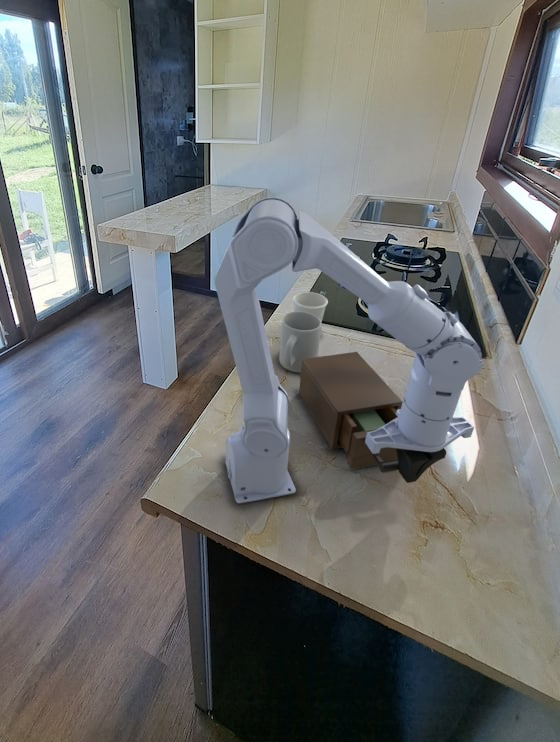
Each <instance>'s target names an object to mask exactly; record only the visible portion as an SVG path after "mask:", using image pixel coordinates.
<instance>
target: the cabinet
mask: <svg viewBox="0 0 560 742" xmlns="http://www.w3.org/2000/svg"><path fill="white" fill-rule="evenodd" d="M298 394H299V396H300V398H301V399H302V401H303V402H304V404H305V406H306V408H307V409H308V411H309V413H310V414H311V416H312V418H313V420H314V421H315V423H316V425H317V426H318V428H319V430H320V432H321V433H322V435H323V437H324V438H325V440H326V441H327V444H328V445H329V447H330V448H331V450H337V449H341V448H342V449H343V447H342V445H341V444H340V442H339V441H338V435H339V429H340V424H341V418H342V415H344V414H350V413H357V412H363V411H369V410H376V409H382V408H388V407H394V408H395V409H396V410H398V409H401V406H402V403H403V399H401V397H399V395H397V393H396V392H395V391H394V390H393V389H392V388H391V386H389V385H388V384H387V383H386V382H385V381H384V380H383V378H382V377H381V376H380V375H379V374H378V372H376V371H375V370H374V368H373V367H372V366H371V365H370V364H369V363H368V362H367V361H366V359H364V358H363V357H362V356H361V354H360V353H359V352H358V351H352V352H344V353H338V354H337V353H336V354H330V355H322V356H318V357H314V358H307V359H302V367H301V373H300V378H299V386H298Z"/></svg>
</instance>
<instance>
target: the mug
mask: <svg viewBox="0 0 560 742" xmlns="http://www.w3.org/2000/svg"><path fill="white" fill-rule="evenodd" d="M321 333H322V322H321V320H320V319H319V318H318V317H317V316H315V315H313V314H311V313H307V312H294V311H292V312H287V313H286V314H285V315H283V317H282V320H281V329H280V346H279V356H278V358H279V363H280V365H281V366H282V367H283V368H284V369H286V370H288V371H290V372H293V373H298V374H301V367H302V359H307V358H314V357H319V351H320V350H319V349H320V342H321Z"/></svg>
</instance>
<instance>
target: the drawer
mask: <svg viewBox="0 0 560 742" xmlns="http://www.w3.org/2000/svg"><path fill="white" fill-rule="evenodd" d="M369 411H370V410H369ZM363 412H364V411H363ZM375 412H376V413H377V414H378V415H379V417H380V418H381V419H382V420H383V422H384V423H385V424H387V423H389V422H391V421H392V420H394V419H396V418H397V417H398V416H397V415H396V412H397V410H396V409H395V408H394V407H388V408H382V409H376V410H375ZM357 413H358V412H357ZM352 414H353V413H350V414H344V415H342V418H341V424H340V429H339V435H338V441H339V442H340V444H341V445H342V447H343V448H342V449H343V450H344V452H345V453H346V455H348V457H347V462H346V464H347V466H348V467H349V469H350V470H355V469H361V468H366V467H367V468H368V467H372V466H377V465H378V470H379V471H380V473H381V474H385V473H390V472H396V471H397V472H398V471H399V467H398V457H397V453H396V449H395V448H390V447H386V448H381V449H380V452H379V453H376V454H373V453H372V452H371V451H370V449H369V448H368V446H367V445H366V443H365V440H366V435H367V432H372V431H375V430H377V429H375V430H369V431H363V432H357V433H356V428H357V426H356V424H355V423H354V421H353V420H352Z"/></svg>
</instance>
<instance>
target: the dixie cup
mask: <svg viewBox="0 0 560 742" xmlns="http://www.w3.org/2000/svg"><path fill="white" fill-rule="evenodd" d="M292 302H293V312H307V313H311V314H313V315H315V316H317V317H318V318H319V319H320V320H321V323H322V321H323V319H324V318H323V317H324V315H325V311H326V308H327V305H328V303H329V301H328V298H327V297H325V296H324V295H323V294H320V293H317V292H315V291H314V292H313V291H302V292H299V293H295V294H294V295H293V297H292Z"/></svg>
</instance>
